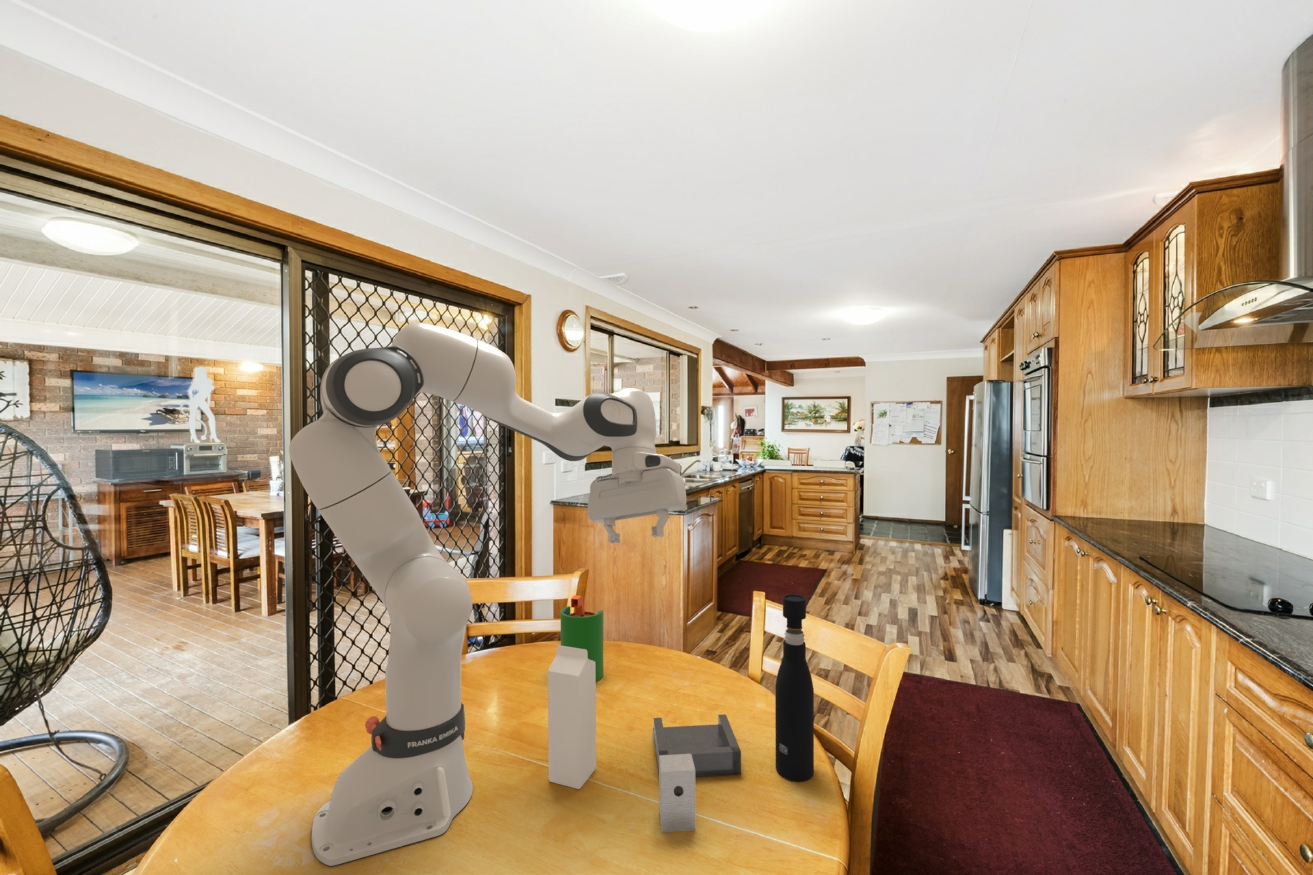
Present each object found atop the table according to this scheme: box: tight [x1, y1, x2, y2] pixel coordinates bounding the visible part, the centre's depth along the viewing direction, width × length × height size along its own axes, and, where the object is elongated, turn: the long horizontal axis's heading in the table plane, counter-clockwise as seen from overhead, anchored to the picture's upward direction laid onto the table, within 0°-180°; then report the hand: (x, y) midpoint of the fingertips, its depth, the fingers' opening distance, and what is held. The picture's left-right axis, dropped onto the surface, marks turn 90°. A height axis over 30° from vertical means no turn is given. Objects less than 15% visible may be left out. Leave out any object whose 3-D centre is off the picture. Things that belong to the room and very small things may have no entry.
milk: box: [547, 644, 597, 790], centre depth 92 cm, size 6×6×22 cm
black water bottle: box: [774, 594, 815, 783], centre depth 93 cm, size 6×6×30 cm
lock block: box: [658, 754, 697, 833], centre depth 81 cm, size 4×5×9 cm
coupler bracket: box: [652, 714, 742, 778], centre depth 99 cm, size 14×14×4 cm
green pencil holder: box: [560, 594, 604, 683], centre depth 129 cm, size 10×9×20 cm
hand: (635, 540), depth 100 cm, fingers open, 8 cm apart
